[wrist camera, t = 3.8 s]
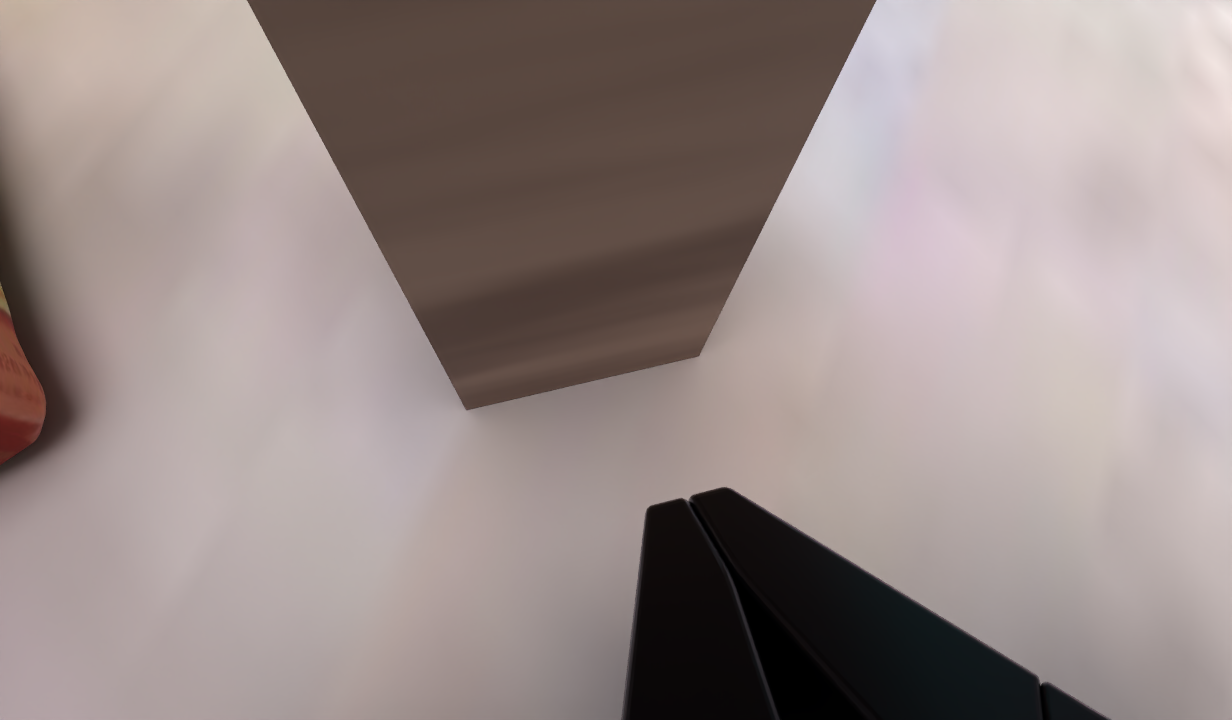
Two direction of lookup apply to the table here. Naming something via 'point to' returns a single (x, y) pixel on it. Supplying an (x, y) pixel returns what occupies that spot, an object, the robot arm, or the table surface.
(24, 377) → the snack package
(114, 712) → the table surface
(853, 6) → the walnut block
